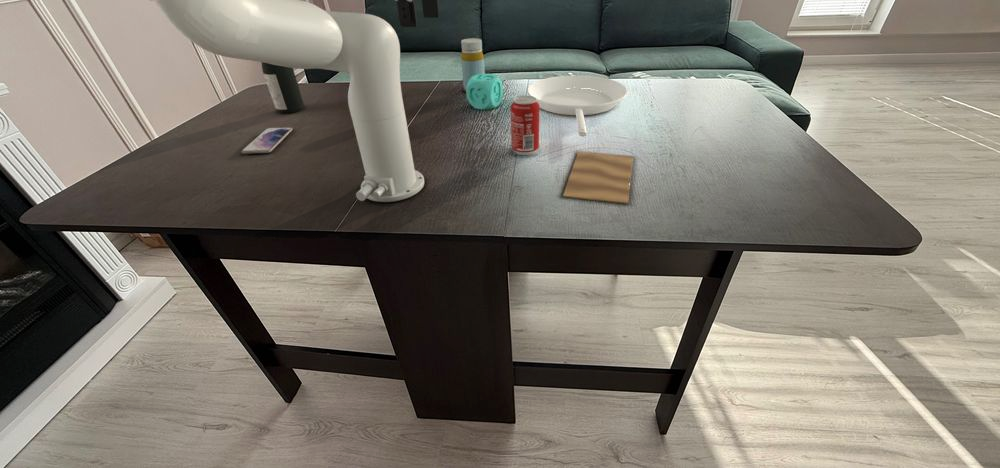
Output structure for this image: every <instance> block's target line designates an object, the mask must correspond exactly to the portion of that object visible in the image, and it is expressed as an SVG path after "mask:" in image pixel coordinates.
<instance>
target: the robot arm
mask: <svg viewBox="0 0 1000 468" xmlns="http://www.w3.org/2000/svg"><path fill="white" fill-rule="evenodd" d="M150 1H152V2H154V3H155V4H156V6H158V7H159V9H160V11H161V12H162V13H163V14H164V16H165V17H166V18H167V19H168V20H169V22H170V23H171V24H172V25H173V27H175V29H177V31H179V32H180V33H181V34H182V35H183V36H185V38H187V40H189V41H191V42H192V43H193V44H194V45H196V46H197V47H199V48H201V49H202V50H204V51H206V52H209V53H211V54H214V55H216V56H221V57H226V58H231V59H237V60H244V61H251V62H252V61H253V62H258V63H261V62H264V63H269V64H273V65H278V66H284V67H290V68H293V69H299V70H312V69H313V70H314V69H319V70H327V71H333V72H338V73H345V74H349V77H350V78H349V87H348V92H347V104H348V109H349V115H350V117H351V121H352V125H353V130H354V132H355V136H356V141H357V145H358V148H359V149H358V150H359V154H360V157H361V158H360V159H361V162H362V165H363V169H364V174H365V175H364V176H363V179H364V180H362V181H361V184H360V188H359V190H358V191H357V192H356V193H355V198H356V199H357V200H358V201H360V202H363V201H366V200H367V199H368V200H370V201H373V202H378V203H391V202H392V203H393V202H398V201H402V200H406V199H409V198H411V197H413V196H415V195H417V194H418V193H419V192H421V190H422V189H423V188H424V186H425V177H424V175H423V174H422V173H421V172H419V171H418V170H416V169H415V163H414V157H413V153H412V147H411V146H412V145H411V140H410V134H409V129H408V122H407V117H406V111H405V106H404V100H403V93H402V85H401V45H400V39H399V37H398V34H397V33H396V30H395V29H394V28H393V27H392V25H391V24H390V23H389V22H387V21H386V20H385V19H384V18H381V17H380V16H377V15H374V14H370V13H361V12H349V11H347V12H345V11H344V12H343V11H332V10H331V11H330V10H324V9H323V8H321V7H320V6H317V5H316V4H314V3H312V2H311V3H310V2H308V1H305V0H150ZM394 1H395V2H396V6H397V7H396V8H397V14H398V19H399V25H400V27H402V28H416V27H418V25H419V24H418V17H417V10H416V2H415V1H414V0H394ZM421 6H422V14H423V17H424V18H427V19H429V18H430V19H432V18H433V19H435V18H436V19H438V18H440V8H439V7H440V6H439V0H421Z"/></svg>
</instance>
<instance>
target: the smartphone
mask: <svg viewBox="0 0 1000 468" xmlns="http://www.w3.org/2000/svg"><path fill="white" fill-rule="evenodd" d="M292 131H293V127H290V126H288V127H267V128H265V129H264V130H263V131H262V132H260V133H259V135H257V137H255V138H254V139H253V140H252V141H250V143H249V144H247V145H246V146H245V147H244V148H242V150H241V153H242V154H244V155H252V154H269V153H271V152H272V151H274V150H275V148H277V147H278V145H279V144H281V142H283V140H284V139H285V138H286V137H288V136H289V134H290V133H292Z"/></svg>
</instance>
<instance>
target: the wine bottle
mask: <svg viewBox="0 0 1000 468" xmlns="http://www.w3.org/2000/svg"><path fill="white" fill-rule="evenodd" d="M260 64H261V70H262V74H263V77H264V79H265V82H266V85H267V88H268V91H269V94H270V97H271V100H272V103H273V106H274V108H275V111H276V112H278V113H280V114H293V113H297V112H299V111H302V110H303V108H305V104H304V103H305V102H304V100H303V97H302V93H301V90H300V87H299V83H298V80H297V77H296V73H295V70H294V68H290V67H284V66H278V65H273V64H269V63H264V62H260Z"/></svg>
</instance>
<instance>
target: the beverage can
mask: <svg viewBox="0 0 1000 468" xmlns="http://www.w3.org/2000/svg"><path fill="white" fill-rule="evenodd" d="M540 109H541V108H540V106H539V104H538V102H537V99H536V98H535V97H533V96H529V95H519V96H516V97H514V98H513V102H512V103H511V105H510V137H511V138H510V141H511V143H510V145H511V150H513V151H514V152H515V154H518V155H520V156H530V155H533V154H534V153H536V152H537V150H538V149H539V148H540V114H541V113H540V111H541V110H540Z"/></svg>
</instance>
